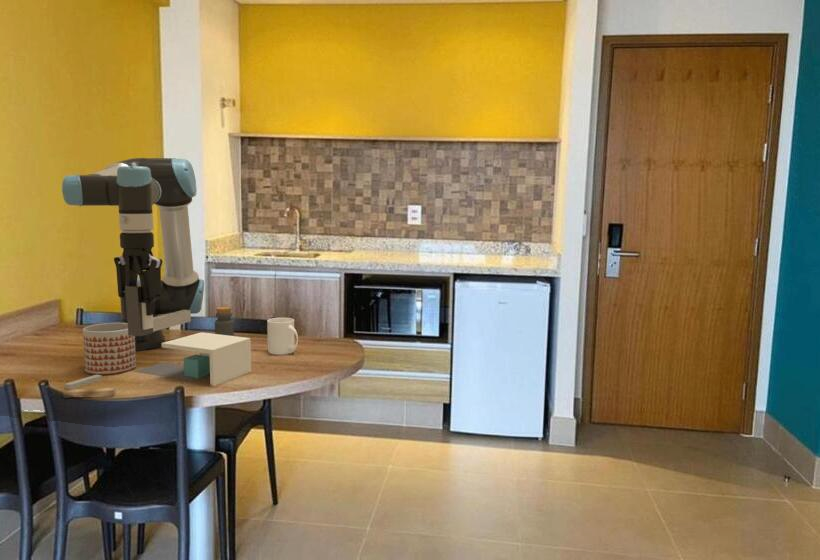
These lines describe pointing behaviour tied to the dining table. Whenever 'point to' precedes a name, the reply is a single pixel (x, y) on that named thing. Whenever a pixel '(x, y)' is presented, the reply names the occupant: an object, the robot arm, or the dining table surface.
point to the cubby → (218, 353)
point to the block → (197, 366)
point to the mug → (281, 336)
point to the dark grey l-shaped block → (160, 322)
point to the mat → (168, 371)
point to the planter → (108, 349)
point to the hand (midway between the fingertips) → (140, 327)
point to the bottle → (224, 321)
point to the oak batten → (92, 392)
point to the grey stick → (83, 381)
